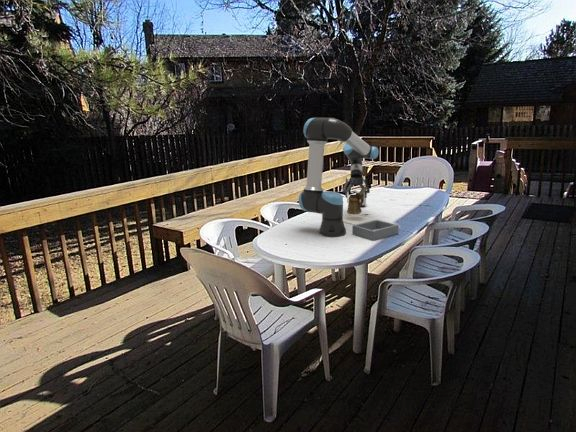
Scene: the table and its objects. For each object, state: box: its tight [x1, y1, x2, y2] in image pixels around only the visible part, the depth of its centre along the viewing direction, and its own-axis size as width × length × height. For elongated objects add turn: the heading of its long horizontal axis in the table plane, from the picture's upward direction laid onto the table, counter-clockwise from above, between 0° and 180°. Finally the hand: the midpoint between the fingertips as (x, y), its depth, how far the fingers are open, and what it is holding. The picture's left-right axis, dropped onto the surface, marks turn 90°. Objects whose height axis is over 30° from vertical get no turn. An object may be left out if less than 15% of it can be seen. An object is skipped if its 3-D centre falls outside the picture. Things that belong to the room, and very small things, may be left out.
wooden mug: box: [346, 185, 367, 215], centre depth 267 cm, size 9×14×18 cm, turn 48°
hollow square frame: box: [351, 219, 399, 241], centre depth 240 cm, size 20×16×5 cm
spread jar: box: [354, 189, 367, 208], centre depth 309 cm, size 12×11×12 cm
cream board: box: [343, 214, 377, 226], centre depth 271 cm, size 18×18×1 cm
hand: (355, 201), depth 265 cm, fingers closed on wooden mug, 9 cm apart
